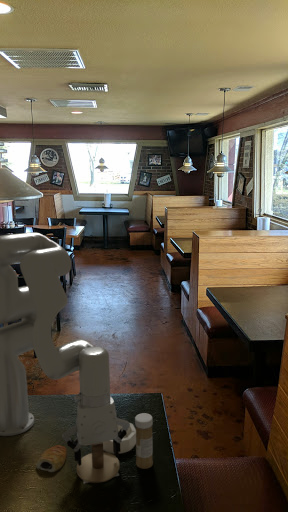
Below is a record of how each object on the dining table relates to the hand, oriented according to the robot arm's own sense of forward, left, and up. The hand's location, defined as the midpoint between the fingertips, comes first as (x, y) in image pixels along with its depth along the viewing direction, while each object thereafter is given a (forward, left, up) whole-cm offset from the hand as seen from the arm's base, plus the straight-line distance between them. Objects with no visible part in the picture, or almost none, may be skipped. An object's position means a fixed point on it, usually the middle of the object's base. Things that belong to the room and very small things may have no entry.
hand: (97, 458), depth 107 cm
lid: (0, 0, -3) cm, 3 cm away
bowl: (+7, +9, -3) cm, 12 cm away
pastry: (-11, +7, -4) cm, 13 cm away
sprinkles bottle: (+12, -2, -3) cm, 13 cm away
